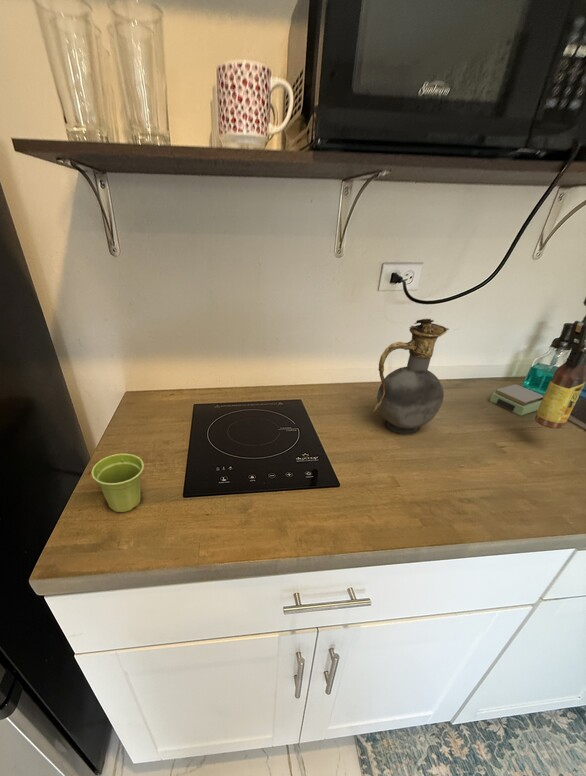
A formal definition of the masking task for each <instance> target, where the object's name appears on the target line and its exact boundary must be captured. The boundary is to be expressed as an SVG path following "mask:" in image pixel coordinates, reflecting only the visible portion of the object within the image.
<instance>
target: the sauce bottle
mask: <svg viewBox="0 0 586 776" xmlns="http://www.w3.org/2000/svg"><path fill="white" fill-rule="evenodd" d="M584 343H585V342H584ZM571 350H572V348H571V347H570V351H571ZM567 359H568V357H567V358H566V360H567ZM565 363H566V361H565V362H564V363H562V364H561V365H560V366H558V367H557V368H556V369H555V371H554V374H553V376H552V378H551V380H550V381H549V383H548V385H547V388H546V390H545V392H544V394H543V396H544V397H543V399H542V402H541V404H540V406H539V409H538V410H536V415H535V416H534V420H535V422H536V423H537V424H538V425H541V426H542V427H545V428H549V429H561V428H563V427H564V426H565V424H566V423H567V421H568V420H569V417H570V416H571V413H572V412H573V410H574V407H575V405H576V404H577V401H578V400H579V397H580V396H581V393H582V391H583V390H584V387H585V385H586V350H585V351H584V354H583V356H582V358H581V360H580V362H579V365H578V366H577V367H575V368H573V367H570V366H567V365H566V364H565Z"/></svg>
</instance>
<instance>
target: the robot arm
mask: <svg viewBox="0 0 586 776" xmlns="http://www.w3.org/2000/svg"><path fill="white" fill-rule="evenodd" d="M582 303H583V305H584V306H585V307H586V297H584V300H583V302H582ZM584 342H585V343H584ZM566 346H567V347H568V348H570V352H569V354H568V356H567V358H568V359H567V358H566V361H565V362H566V363H565V362H564V363H565V364H566V365H567V366H570V367H573V368H575V367H577V366H578V365H579V362H580V360H581V358H582V356H583V354H584V351H585V350H586V314H585V316H584V317H583V318H582V320H581V321H580V320H575V321H574V322H573V324H572V327H571V330H570V334H569V337H568V342H567V345H566ZM571 348H572V350H571Z"/></svg>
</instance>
